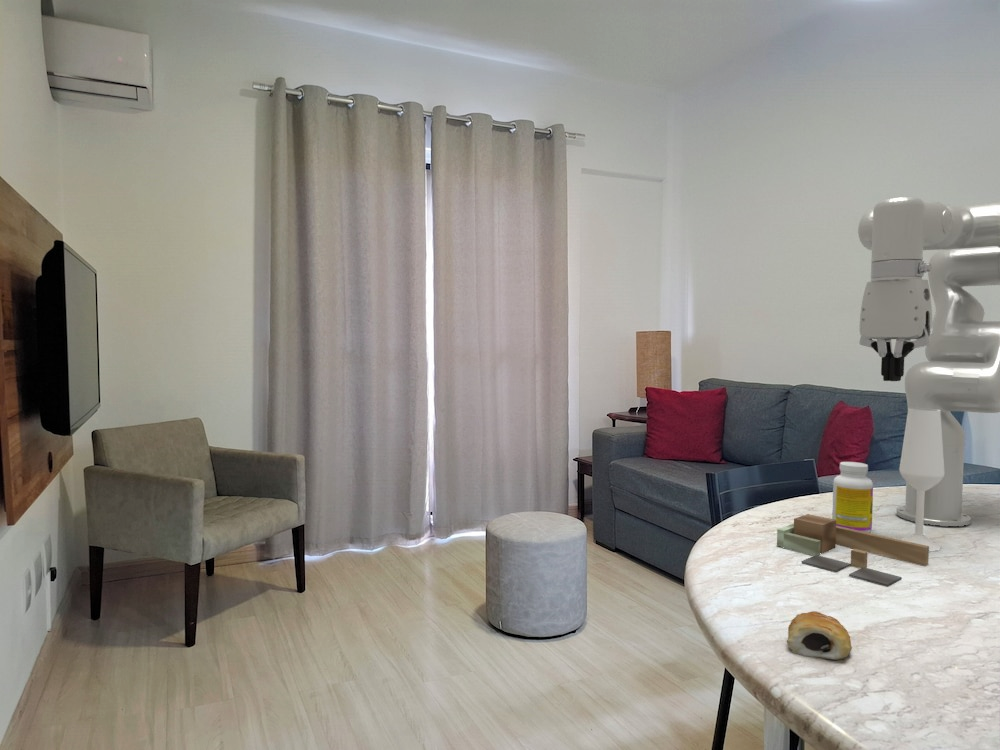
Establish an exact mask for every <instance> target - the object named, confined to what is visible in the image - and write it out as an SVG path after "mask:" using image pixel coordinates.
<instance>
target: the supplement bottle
mask: <svg viewBox="0 0 1000 750" xmlns="http://www.w3.org/2000/svg"><path fill="white" fill-rule="evenodd" d="M839 471H840V474H839V475H836V476H835V477H834V479H833V485H832V488H833V489H832V514H831V515H832V517H831V519H834V520H836V526H840V527H844V528H849V529H853V530H858V531H862V532H867V533H871V534H872V531H873V507H874V506H873V500H874V482H873V481H872V480H871V479H870V478H869V477H867V474H868V471H869V465H868V464H866V463H863V462H856V461H841V462H839Z"/></svg>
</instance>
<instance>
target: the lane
mask: <svg viewBox="0 0 1000 750" xmlns="http://www.w3.org/2000/svg"><path fill="white" fill-rule="evenodd" d="M820 542H821V541H820V540H816V539H812V538H808V537H804V536H800V535H796V534H794V523H792V524H789V525H785V526H784V527H783V526H782V527H780V528H777V529H776V547H778V546H781V547H780V548H782V547H784V548H783V549H786V548H787V549H786V550H789V549H791V550H790V551H793V550H795V551H794V552H797V551H798V552H797V553H801V552H802V554H805V553H806V554H805V555H809V556H810V557H808V558H806V559H803V560H801V562H802V563H801V564H803V565H807V566H808V565H809V566H811V567H815V568H818V569H822V570H826V571H829V572H832V573H838V572H840V571H842V570H844V569H846V568H849V567H850V566H851V567H854V568H858V569H857V570H855V571H853V572H851V573H848V577H852V578H855V579H858V580H861V581H866V582H870V583H872V584H876V585H879V586H883V587H884V586H885V587H889V586H891V585H894V584H895V583H898V582H899V581H901V580H902V576H900V575H899V576H898V575H895V574H892V573H888V572H884V571H880V570H876V569H872V568H868V553H870V554H874V555H878V556H882V557H886V558H890V559H893V560H898V561H902V562H906V563H911V564H914V565H918V566H919V565H920V566H922V567H923V566H924V567H927V566H929V560H930V559H929V556H930V551H929V546H925V545H921V544H916V543H912V542H907V541H903V540H901V539H898V538H893V537H890V536H889V537H888V536H884V535H880V534H876V533H872V532H871V533H867V532H862V531H858V530H853V529H849V528H844V527H840V526H836V546H841V547H846V548H849V549H851V550H850V562H849V563H848V562H845V561H841V560H838V559H833V558H829V557H826V556H824V555H821V554H820Z"/></svg>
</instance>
